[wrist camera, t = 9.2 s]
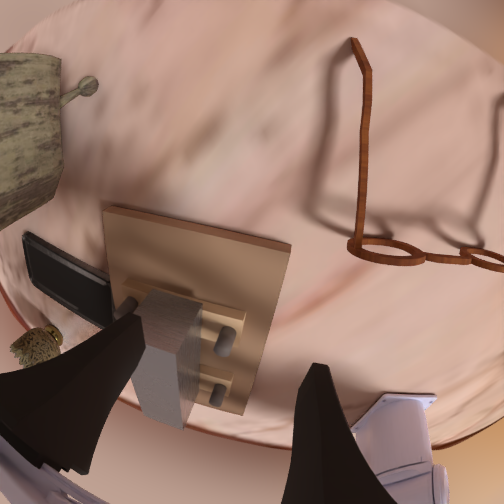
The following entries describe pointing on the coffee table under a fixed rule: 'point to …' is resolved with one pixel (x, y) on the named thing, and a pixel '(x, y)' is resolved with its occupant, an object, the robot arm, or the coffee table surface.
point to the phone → (69, 281)
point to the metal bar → (169, 357)
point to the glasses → (356, 243)
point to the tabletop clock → (31, 131)
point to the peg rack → (202, 290)
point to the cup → (37, 346)
